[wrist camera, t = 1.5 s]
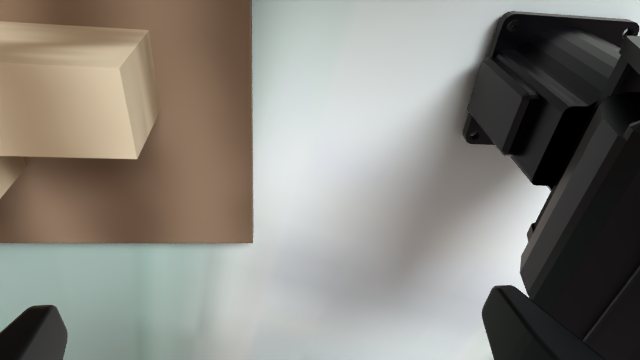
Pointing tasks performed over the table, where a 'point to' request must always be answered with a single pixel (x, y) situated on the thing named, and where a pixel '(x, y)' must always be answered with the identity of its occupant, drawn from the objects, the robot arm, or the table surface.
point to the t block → (73, 93)
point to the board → (153, 135)
